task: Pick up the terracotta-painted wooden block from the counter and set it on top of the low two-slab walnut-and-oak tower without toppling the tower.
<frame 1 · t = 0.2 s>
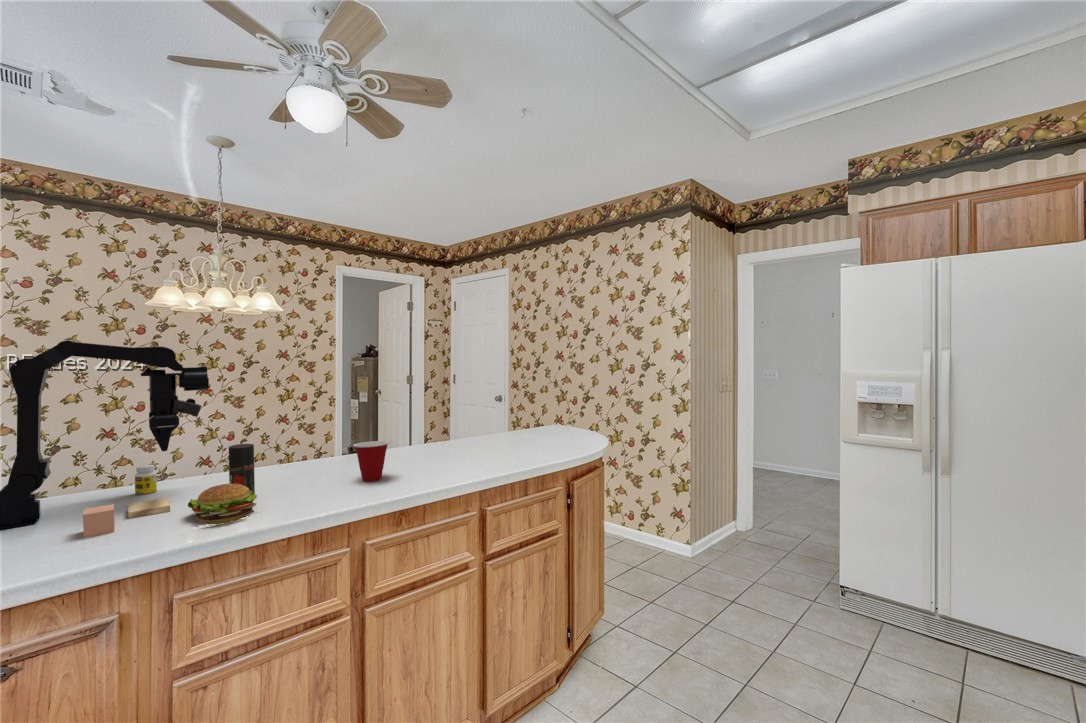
hand: (164, 448, 132), 14 cm above the counter, fingers open, 9 cm apart
deodorant: (242, 499, 133), on the counter
plastic cup: (371, 479, 153), on the counter
supplement bottle: (146, 496, 136), on the counter
block: (99, 535, 108), on the counter
food: (223, 517, 120), on the counter
tower base: (149, 516, 121), on the counter, touching tower top
tower top: (149, 510, 121), point 1 cm above the counter, touching tower base
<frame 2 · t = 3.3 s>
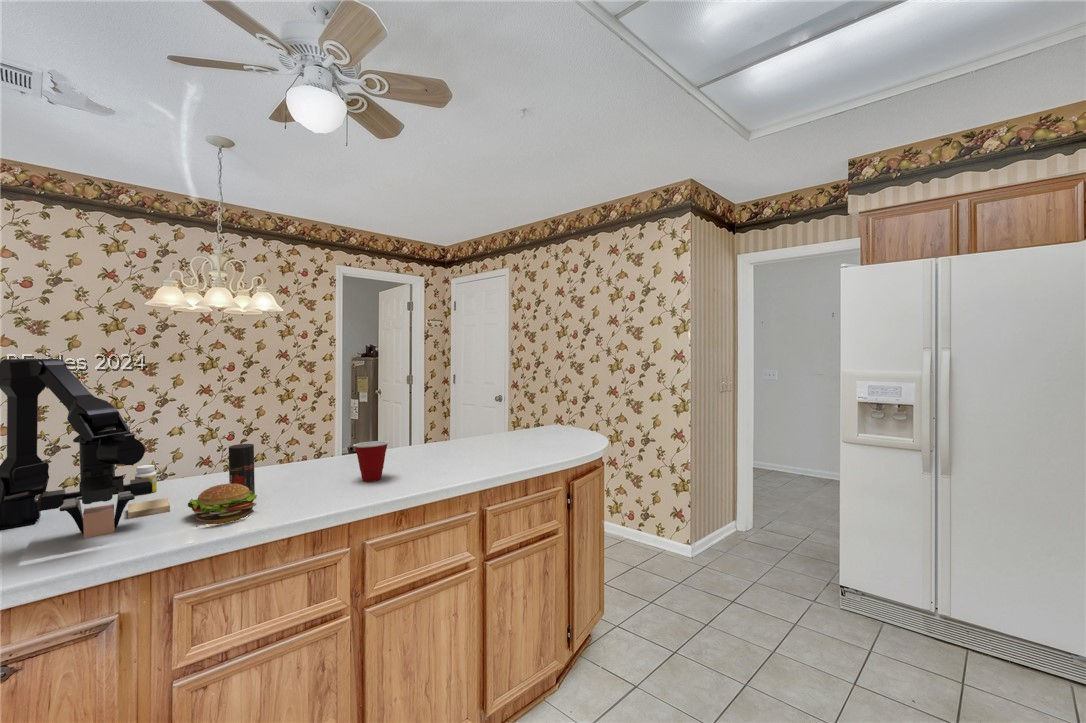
hand: (99, 530, 108), 1 cm above the counter, fingers closed on block, 5 cm apart
block: (99, 535, 108), on the counter, touching gripper
everything else where it was.
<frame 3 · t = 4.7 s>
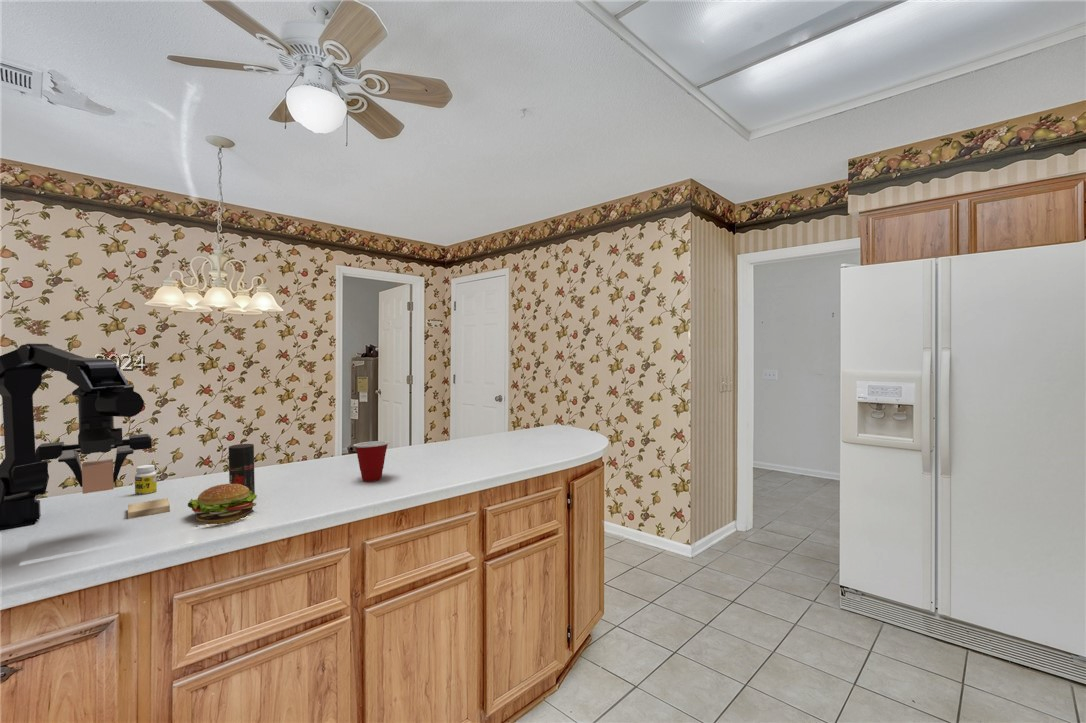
hand: (98, 484, 108), 12 cm above the counter, fingers closed on block, 5 cm apart
block: (98, 488, 108), point 11 cm above the counter, touching gripper
everything else where it was.
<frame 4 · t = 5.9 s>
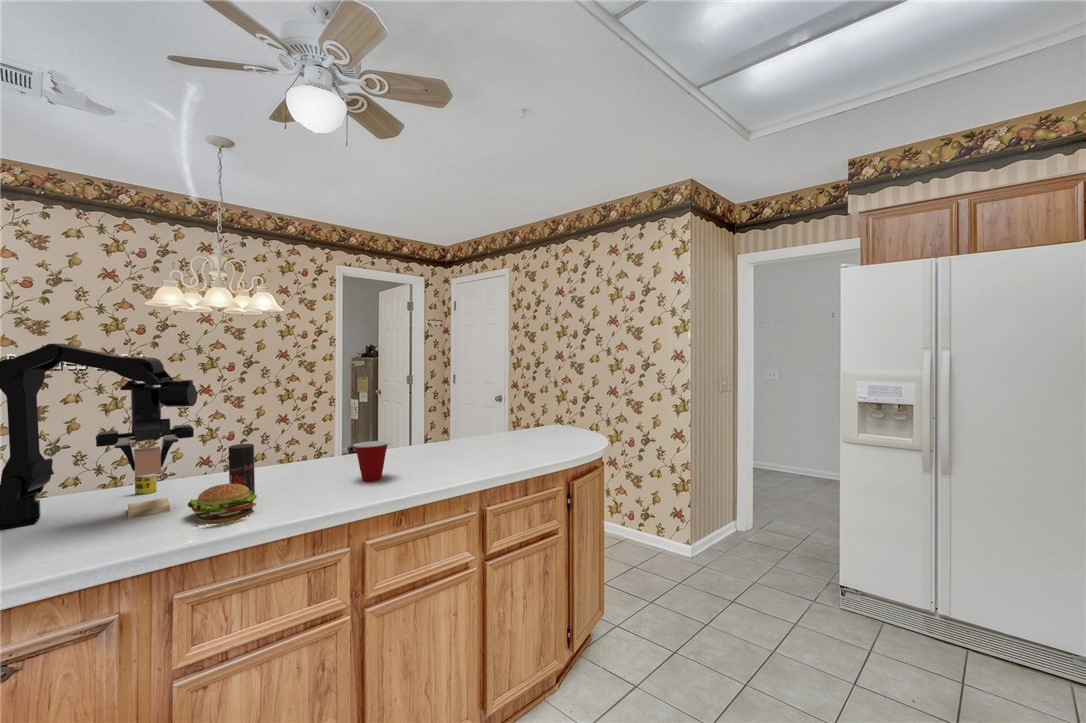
hand: (147, 468, 121), 12 cm above the counter, fingers closed on block, 5 cm apart
block: (147, 472, 121), point 11 cm above the counter, touching gripper
everything else where it was.
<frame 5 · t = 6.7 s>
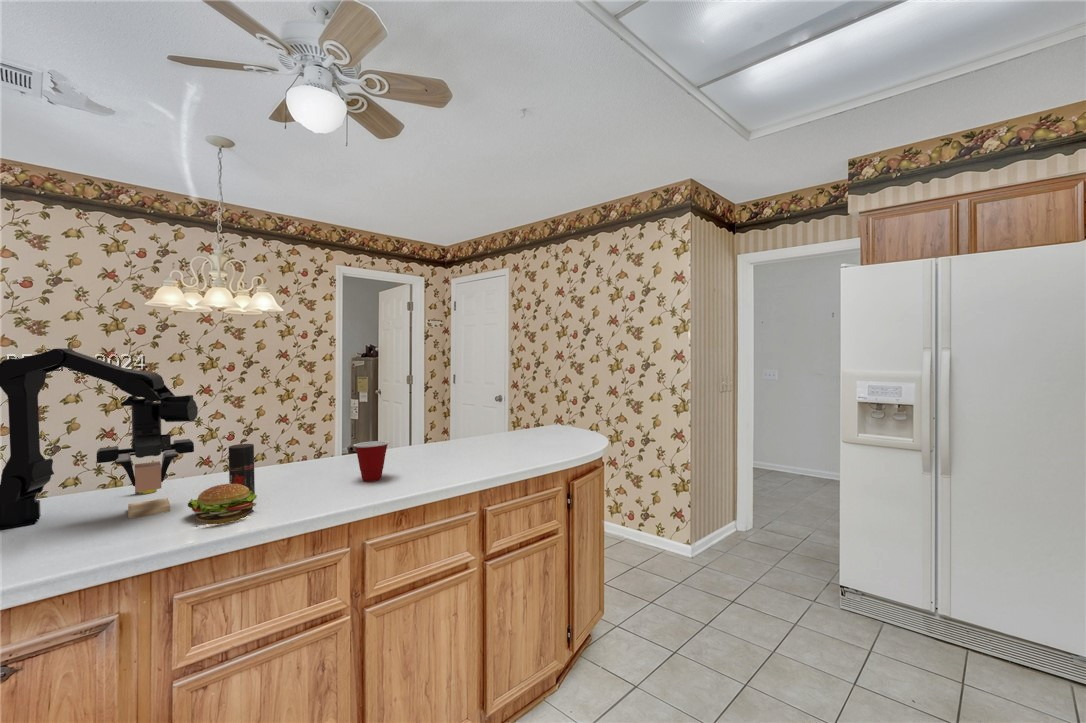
hand: (148, 483, 121), 8 cm above the counter, fingers closed on block, 5 cm apart
block: (148, 488, 121), point 7 cm above the counter, touching gripper
tower base: (149, 516, 121), on the counter
tower top: (149, 510, 122), point 1 cm above the counter
everything else where it was.
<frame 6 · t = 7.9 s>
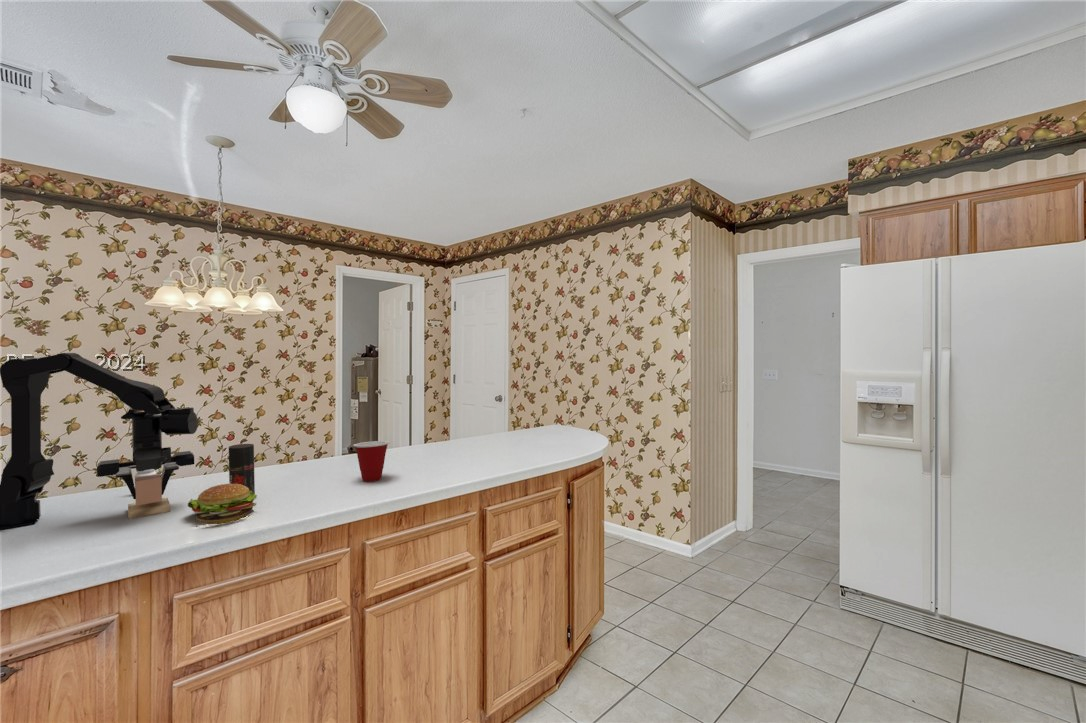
hand: (148, 496, 121), 4 cm above the counter, fingers closed on block, 5 cm apart
block: (148, 500, 121), point 3 cm above the counter, touching gripper
tower base: (149, 516, 121), on the counter, touching tower top
tower top: (149, 510, 122), point 1 cm above the counter, touching tower base
everything else where it was.
when the fingers open (4 cm above the counter, at t = 8.2 s): block drops 1 cm, point 2 cm above the counter.
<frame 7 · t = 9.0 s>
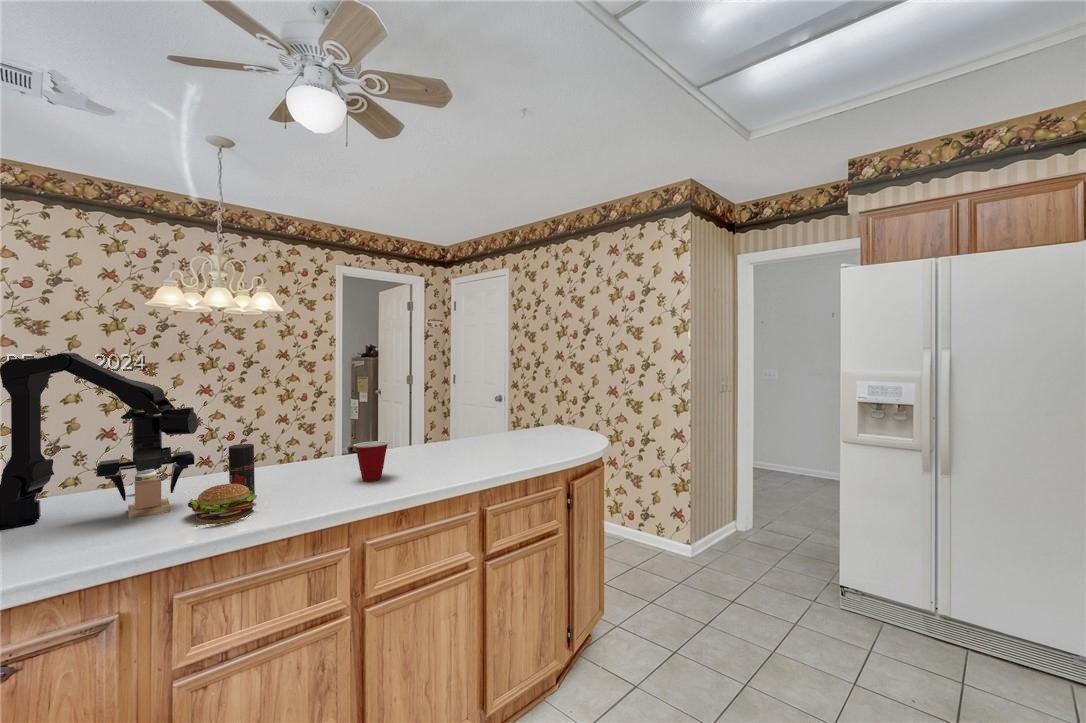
hand: (148, 496, 121), 4 cm above the counter, fingers open, 9 cm apart
block: (148, 505, 121), point 2 cm above the counter
everything else where it was.
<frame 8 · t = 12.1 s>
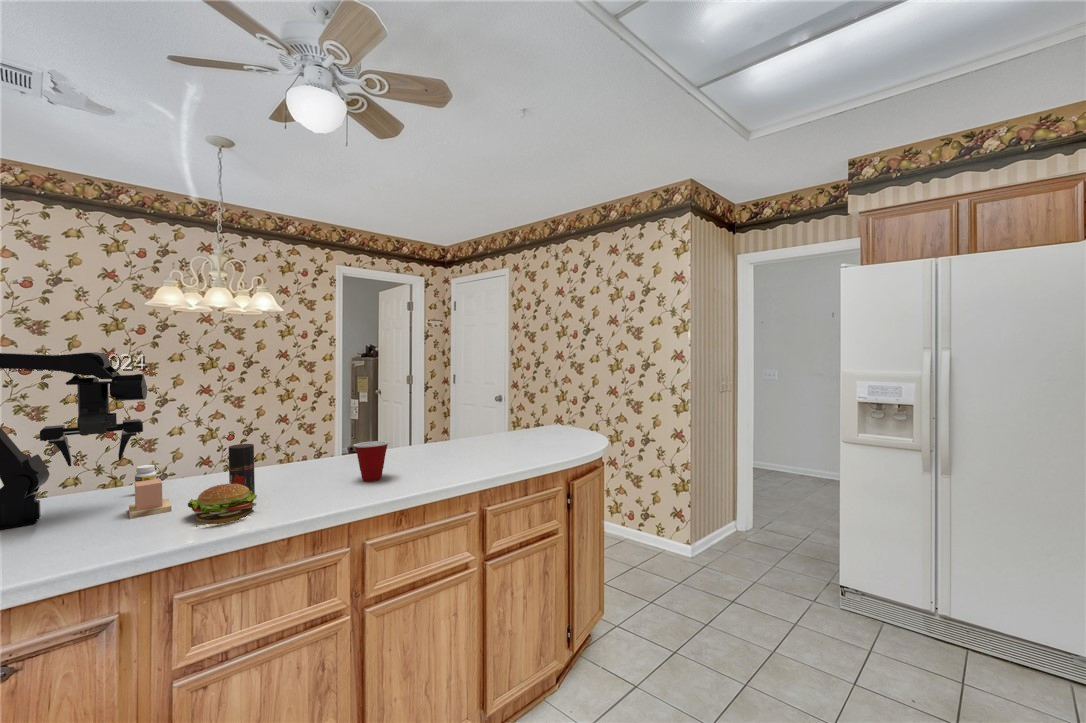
hand: (95, 463, 121), 13 cm above the counter, fingers open, 9 cm apart
nothing on the counter moved.
at the end: block 0.4 cm off-centre on the tower top, point 1.5 cm above the tower top's base; block tilted 0°; tower top moved 0.9 cm from its start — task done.
